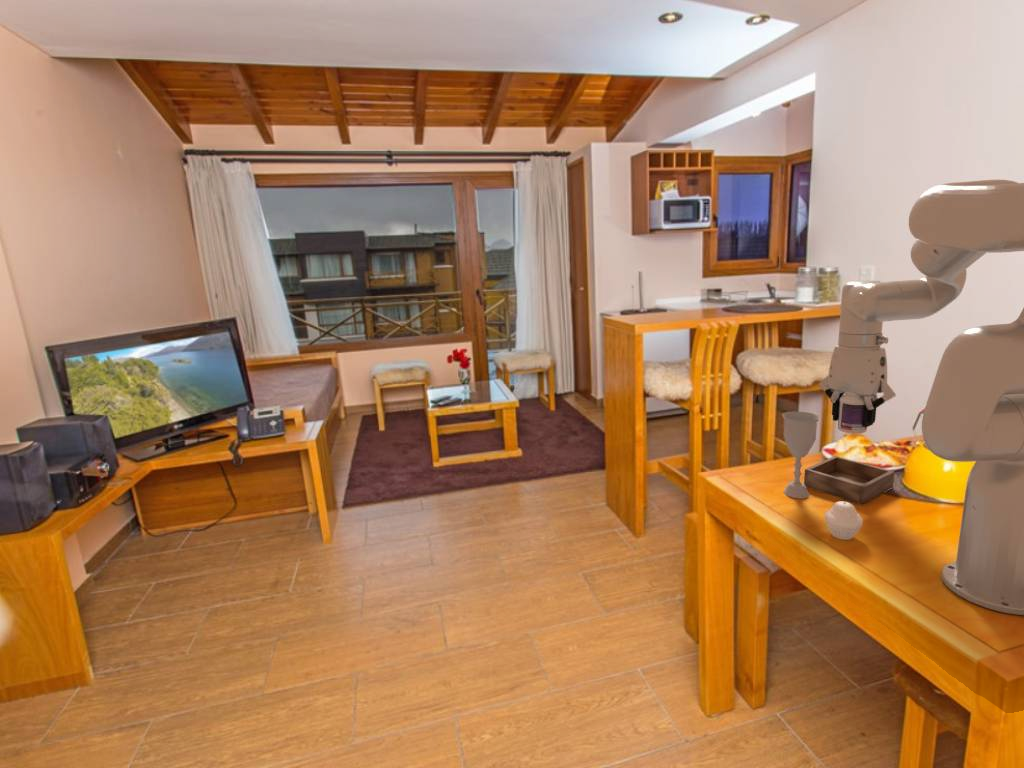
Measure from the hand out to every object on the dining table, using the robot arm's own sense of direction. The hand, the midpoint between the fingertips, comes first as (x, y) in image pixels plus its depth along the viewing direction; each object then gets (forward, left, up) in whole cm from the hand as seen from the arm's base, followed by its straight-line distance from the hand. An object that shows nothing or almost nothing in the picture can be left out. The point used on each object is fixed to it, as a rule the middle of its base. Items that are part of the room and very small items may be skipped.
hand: (852, 421), depth 116 cm
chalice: (+5, +11, -16) cm, 20 cm away
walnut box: (0, 0, -15) cm, 15 cm away
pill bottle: (0, 0, -2) cm, 2 cm away
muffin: (-10, +22, -16) cm, 29 cm away
